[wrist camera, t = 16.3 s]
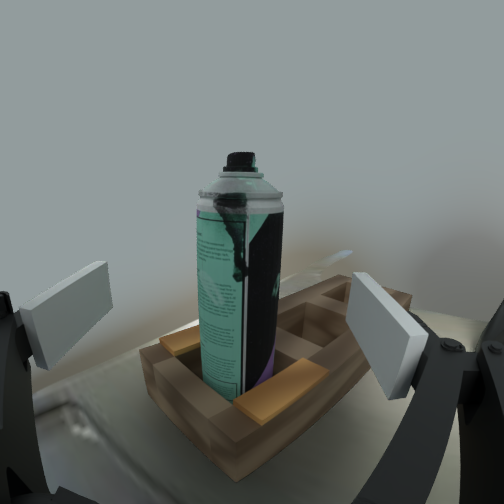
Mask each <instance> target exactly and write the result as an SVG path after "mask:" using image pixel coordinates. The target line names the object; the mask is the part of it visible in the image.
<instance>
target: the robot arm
mask: <svg viewBox="0 0 504 504" xmlns="http://www.w3.org/2000/svg"><path fill="white" fill-rule="evenodd" d="M112 308H113V304H112V297H111V291H110V283H109V274H108V264H107V262H105V261H95V262H94V263H92V264H90V265H88V266H86V267H85V268H83V269H81V270H79V271H78V272H76V273H74V274H72V275H71V276H69V277H67V278H66V279H64V280H62V281H60V282H59V283H57V284H55V285H54V286H52V287H50V288H49V289H47V290H46V291H44V292H42V293H41V294H39V295H38V296H36V297H34V298H33V299H31V300H29V301H28V302H26V303H25V304H23V305H22V306H20V307H19V310H18V311H17V312H15V313H13V308H12V304H11V300H10V296H9V293H8V292H5V291H1V292H0V504H99V503H97V502H95V501H93V500H90V499H88V498H85V497H83V496H80V495H78V494H76V493H74V492H71V491H69V490H67V489H65V488H63V487H60V486H59V488H58V489H57V491H56V493H55V494H51V493H50V491H49V489H48V486H47V483H46V479H45V475H44V471H43V466H42V462H41V457H40V452H39V446H38V440H37V434H36V427H35V420H34V411H33V400H32V385H31V366H30V363H29V360H28V358H29V357H30V356H32V355H33V357H34V360H35V362H36V365H37V367H40V368H43V369H46V370H50V369H51V368H52V367H53V366H54V365H55V364H56V363H57V362H58V361H59V360H60V359H61V358H62V357H63V356H64V355H65V354H66V353H67V352H68V351H69V350H70V349H71V348H72V347H73V346H74V345H75V344H76V343H77V342H78V341H79V340H80V339H81V338H82V337H83V336H84V335H85V334H86V333H87V332H88V331H89V330H90V329H91V328H92V327H93V326H94V325H95V324H96V323H97V322H98V321H99V320H100V319H101V318H102V317H103V316H104V315H106V314H107V313H108V312H109V311H110V310H111V309H112ZM346 322H347V324H348V326H349V328H350V329H351V331H352V333H353V335H354V337H355V338H356V340H357V342H358V344H359V346H360V347H361V349H362V351H363V353H364V355H365V357H366V359H367V360H368V362H369V364H370V366H371V368H372V370H373V372H374V374H375V375H376V377H377V379H378V381H379V383H380V385H381V387H382V389H383V391H384V393H385V395H386V397H387V399H388V400H393V399H400V398H406V396H407V394H408V391H409V389H410V386H411V385H412V387H413V388H414V390H415V393H414V395H413V398H412V400H411V402H410V404H409V406H408V409H407V411H406V413H405V415H404V417H403V419H402V421H401V423H400V425H399V427H398V429H397V431H396V433H395V435H394V437H393V438H392V440H391V442H390V444H389V446H388V448H387V449H386V451H385V453H384V455H383V456H382V458H381V460H380V461H379V463H378V465H377V466H376V468H375V470H374V471H373V473H372V474H371V476H370V477H369V479H368V480H367V482H366V483H365V485H364V486H363V488H362V489H361V491H360V492H359V494H358V495H357V496H356V498H355V499H354V500H353V502H352V503H351V504H425V503H426V500H427V498H428V496H429V493H430V491H431V489H432V486H433V484H434V481H435V478H436V476H437V473H438V470H439V467H440V465H441V462H442V459H443V456H444V453H445V449H446V446H447V443H448V439H449V436H450V432H451V428H452V425H453V421H454V416H455V412H456V408H457V411H458V421H459V435H460V464H461V470H460V498H459V504H504V300H503V301H502V303H501V305H500V306H499V308H498V309H497V311H496V313H495V314H494V316H493V318H492V319H491V320H490V322H489V323H488V325H487V326H486V328H485V329H484V331H483V332H482V334H481V337H480V339H479V342H478V345H477V347H476V351H475V352H466V350H465V347H464V346H463V345H462V344H461V343H460V342H458V341H456V340H454V339H450V338H439V337H438V336H437V335H436V334H435V333H434V332H433V331H432V330H431V329H430V328H429V327H428V326H427V325H426V324H425V323H423V321H422V320H421V319H420V318H419V317H418V316H417V315H415V314H413V313H411V312H409V311H405V310H404V309H403V308H402V307H401V306H400V305H399V304H398V303H397V302H396V301H395V300H394V299H393V298H392V297H391V296H390V295H389V294H388V293H387V292H386V291H385V290H384V289H383V288H382V287H381V286H380V285H379V284H378V283H377V282H376V281H375V280H374V279H373V278H372V277H371V276H369V275H368V274H367V273H363V272H360V273H359V272H353V275H352V282H351V289H350V296H349V302H348V308H347V314H346Z"/></svg>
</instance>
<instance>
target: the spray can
mask: <svg viewBox="0 0 504 504" xmlns="http://www.w3.org/2000/svg"><path fill="white" fill-rule="evenodd" d="M219 176H220V178H218V179H216V180H215V181H213V182H212V183H210V184H209V185H208V186H207V187H205V188H204V189H203V190H199V196H200V199H199V201H198V202H197V276H198V305H199V327H200V344H201V360H202V374H203V382H205V383H206V384H207V385H208V386H209V387H211V388H212V389H213V390H214V391H216V392H217V393H218V394H219V395H221V396H222V397H223V398H225V399H226V400H227V401H228V402H230V403H231V404H232V405H233V399H235V398H237V397H239V396H240V395H242V394H244V393H246V392H248V391H249V390H251V389H253V388H254V387H256V386H258V385H260V384H261V383H263V382H265V381H266V380H268V379H270V378H271V377H272V375H273V364H274V352H275V340H276V327H277V314H278V300H279V285H280V269H281V252H282V234H283V214H284V205H283V203H282V202H281V198H282V196H283V192H279V191H277V190H276V189H275V188H274V187H273V186H272V185H271V184H269V183H268V182H267V181H265V180H263V179H262V177H264V174H263V173H258V168H257V167H255V154H254V153H253V152H234V153H231V154H229V155H228V157H227V167H223V172H219Z"/></svg>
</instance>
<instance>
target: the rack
mask: <svg viewBox="0 0 504 504" xmlns="http://www.w3.org/2000/svg"><path fill="white" fill-rule="evenodd" d="M351 282H352V278H350V277H346V276H342V275H337V276H334V277H332V278H330V279H327V280H325V281H322V282H320V283H318V284H315V285H313V286H311V287H308V288H306V289H303V290H301V291H299V292H296V293H294V294H291V295H289V296H286V297H284V298H281V299H279V300H278V314H277V327H276V340H275V352H274V364H273V375H272V377H271V378H270V379H268V380H266V381H265V382H263V383H261V384H260V385H258V386H256V387H254V388H253V389H251V390H249V391H248V392H246V393H244V394H242V395H240V396H239V397H237V398H235V399H233V405H232V404H231V403H230V402H228V401H227V400H226V399H225V398H223V397H222V396H221V395H219V394H218V393H217V392H216V391H214V390H213V389H212V388H211V387H209V386H208V385H207V384H206V383H205V382H203V374H202V360H201V344H200V327H199V325H197V326H194V327H191V328H188V329H185V330H182V331H179V332H176V333H173V334H170V335H167V336H164V337H161V338H159V340H160V343H158V344H155V345H152V346H149V347H146V348H143V349H140V350H139V352H140V357H141V362H142V368H143V372H144V377H145V382H146V386H147V391H148V394H149V396H150V397H151V398H152V399H153V400H154V401H155V403H156V404H157V405H158V406H159V407H160V408H161V410H162V411H163V412H164V413H165V414H166V415H167V416H168V417H169V419H170V420H171V421H172V422H173V423H174V424H175V425H176V426H177V427H178V428H179V429H180V430H181V432H182V433H183V434H184V435H185V436H186V437H187V438H188V439H189V440H190V441H191V442H192V443H193V444H194V445H195V446H196V447H197V448H198V449H199V450H200V451H201V452H202V453H203V454H205V455H206V456H207V457H208V458H209V459H210V460H211V461H212V462H213V463H214V464H215V465H216V466H217V467H219V468H220V469H221V470H222V471H223V472H224V473H225V474H227V475H228V476H229V477H230V478H231V479H232V480H234V481H235V482H236V483H237V482H238V481H240V480H241V479H243V478H244V477H246V476H247V475H249V474H250V473H252V472H253V471H254V470H256V469H257V468H259V467H260V466H261V465H263V464H264V463H266V462H267V461H268V460H270V459H271V458H272V457H274V456H275V455H276V454H278V453H279V452H280V451H282V450H283V449H284V448H285V447H287V446H288V445H289V444H290V443H292V442H293V441H294V440H295V439H297V438H298V437H299V436H300V435H301V434H303V433H304V432H305V431H306V430H307V429H308V428H310V427H311V426H312V425H313V424H314V423H315V422H316V421H318V420H319V419H320V418H321V417H322V416H323V415H324V414H325V413H326V412H327V411H328V410H330V409H331V408H332V407H333V406H334V405H335V404H336V403H337V402H338V401H339V400H340V399H341V398H342V397H343V396H344V395H345V394H346V393H347V392H348V391H349V390H350V389H351V388H352V387H353V386H354V385H355V384H356V383H357V382H358V381H359V380H360V379H361V378H362V377H363V376H364V375H365V373H366V372H367V371H368V370H369V369H370V368H371V366H370V364H369V362H368V360H367V359H366V357H365V355H364V353H363V351H362V349H361V347H360V346H359V344H358V342H357V340H356V338H355V337H354V335H353V333H352V331H351V329H350V328H349V326H348V324H347V322H346V314H347V308H348V302H349V296H350V289H351ZM382 288H383V289H384V290H385V291H386V292H387V293H388V294H389V295H390V296H391V297H392V298H393V299H394V300H395V301H396V302H397V303H398V304H399V305H400V306H401V307H402V308H403V309H404V310H405V311H409V308H410V303H411V298H412V295H410V294H407V293H403V292H399V291H396V290H393V289H389V288H385V287H382Z"/></svg>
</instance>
